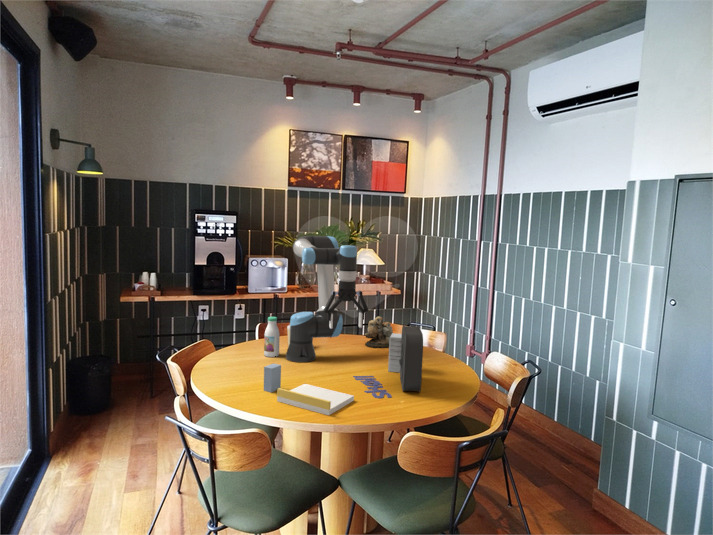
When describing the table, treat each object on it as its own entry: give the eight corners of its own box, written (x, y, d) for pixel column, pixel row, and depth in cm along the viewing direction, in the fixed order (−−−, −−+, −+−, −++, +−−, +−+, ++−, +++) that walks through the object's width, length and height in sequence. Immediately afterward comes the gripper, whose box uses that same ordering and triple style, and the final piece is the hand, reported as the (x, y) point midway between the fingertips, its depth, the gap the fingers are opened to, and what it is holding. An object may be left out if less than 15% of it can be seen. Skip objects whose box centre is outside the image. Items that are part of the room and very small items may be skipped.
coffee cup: (296, 350, 262) (297, 328, 260) (283, 347, 266) (283, 326, 265) (307, 347, 269) (307, 326, 268) (293, 344, 274) (294, 323, 273)
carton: (272, 386, 204) (273, 363, 203) (280, 388, 202) (281, 365, 201) (263, 390, 199) (263, 366, 198) (271, 392, 197) (271, 368, 196)
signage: (393, 396, 197) (369, 398, 194) (393, 398, 197) (369, 399, 194) (373, 374, 224) (352, 375, 221) (373, 376, 224) (352, 377, 221)
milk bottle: (273, 352, 256) (274, 315, 254) (282, 355, 251) (283, 317, 249) (261, 354, 251) (261, 316, 249) (269, 358, 245) (270, 319, 243)
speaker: (420, 395, 200) (423, 336, 198) (399, 394, 200) (402, 335, 198) (415, 376, 225) (417, 323, 222) (396, 375, 225) (399, 322, 223)
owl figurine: (367, 349, 271) (368, 319, 269) (360, 344, 282) (361, 315, 281) (397, 347, 276) (398, 318, 275) (389, 342, 287) (390, 314, 286)
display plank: (277, 401, 188) (277, 388, 187) (304, 388, 203) (304, 376, 203) (328, 415, 176) (329, 402, 176) (353, 400, 192) (354, 388, 191)
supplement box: (407, 373, 229) (408, 338, 227) (387, 371, 231) (389, 337, 229) (409, 367, 238) (410, 334, 237) (390, 366, 240) (391, 332, 239)
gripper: (321, 281, 207) (320, 330, 209) (376, 281, 214) (374, 328, 217) (318, 279, 214) (316, 326, 216) (371, 279, 222) (369, 324, 224)
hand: (345, 327), depth 216 cm, fingers open, 13 cm apart
